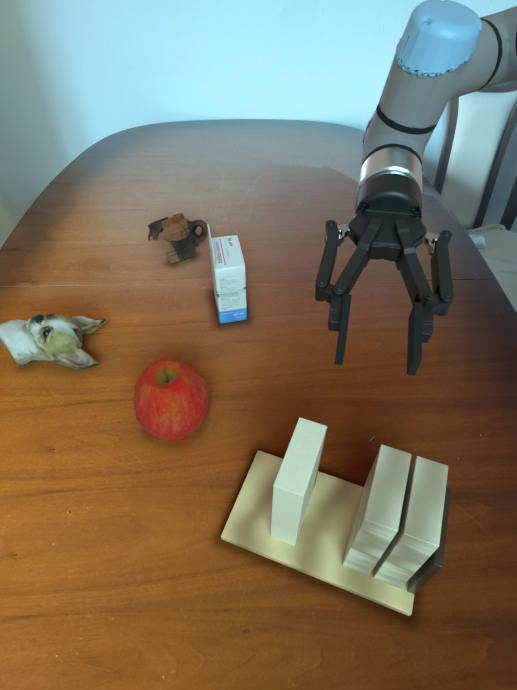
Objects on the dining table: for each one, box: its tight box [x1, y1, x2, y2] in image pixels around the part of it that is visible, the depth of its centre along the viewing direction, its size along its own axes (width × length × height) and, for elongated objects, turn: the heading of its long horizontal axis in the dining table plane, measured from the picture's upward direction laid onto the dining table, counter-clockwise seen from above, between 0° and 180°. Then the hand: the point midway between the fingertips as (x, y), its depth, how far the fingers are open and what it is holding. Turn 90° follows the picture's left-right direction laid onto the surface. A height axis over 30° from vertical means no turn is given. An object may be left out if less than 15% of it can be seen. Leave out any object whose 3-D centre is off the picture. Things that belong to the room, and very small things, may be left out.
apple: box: [133, 358, 211, 442], centre depth 61 cm, size 10×10×10 cm
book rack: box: [220, 443, 452, 617], centre depth 49 cm, size 22×12×15 cm, turn 69°
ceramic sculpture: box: [0, 313, 108, 371], centre depth 69 cm, size 11×9×15 cm
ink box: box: [206, 223, 248, 324], centre depth 74 cm, size 9×5×15 cm, turn 10°
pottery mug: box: [147, 212, 208, 264], centre depth 89 cm, size 12×10×8 cm
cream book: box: [271, 416, 329, 546], centre depth 49 cm, size 3×8×14 cm, turn 159°
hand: (376, 361), depth 41 cm, fingers open, 6 cm apart
